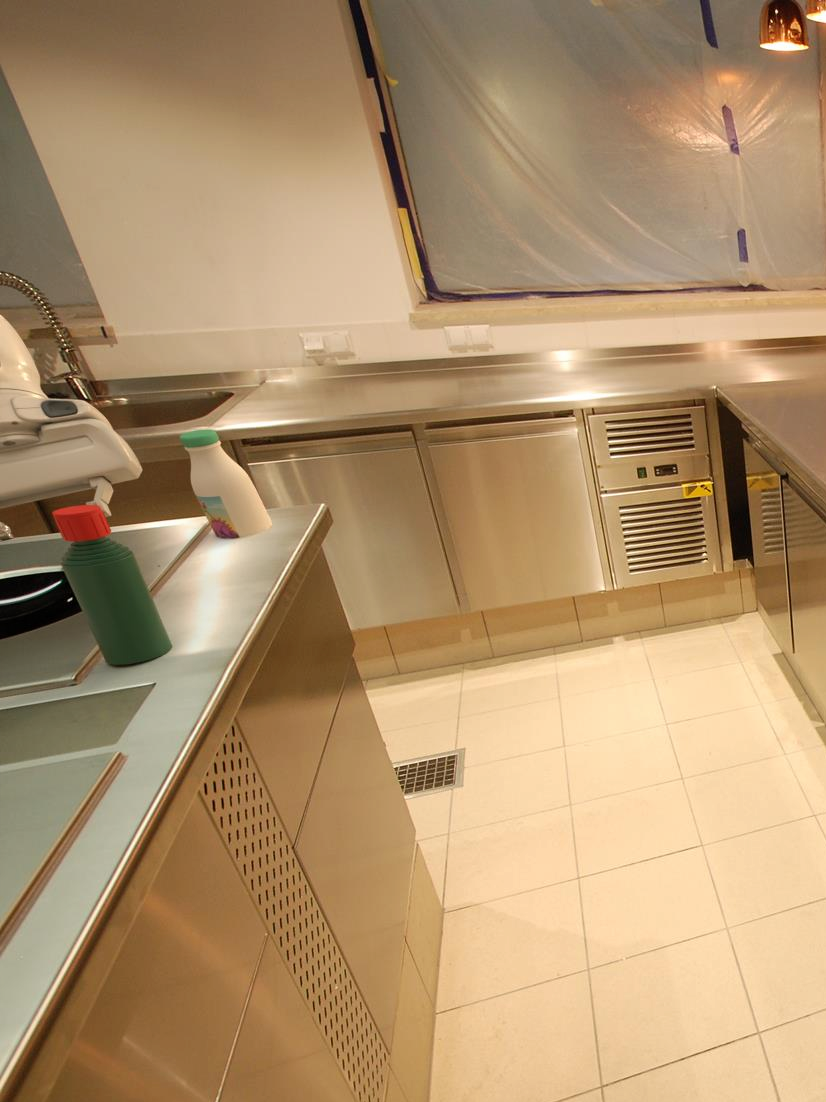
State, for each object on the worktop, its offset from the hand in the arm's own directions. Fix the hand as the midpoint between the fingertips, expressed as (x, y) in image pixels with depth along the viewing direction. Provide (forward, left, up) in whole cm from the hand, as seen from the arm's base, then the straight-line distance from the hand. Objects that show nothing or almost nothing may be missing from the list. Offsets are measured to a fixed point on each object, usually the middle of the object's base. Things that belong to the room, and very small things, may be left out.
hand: (53, 527), depth 104 cm
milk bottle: (+11, +34, -15) cm, 39 cm away
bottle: (+5, -8, -15) cm, 18 cm away
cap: (+5, -8, 0) cm, 9 cm away
